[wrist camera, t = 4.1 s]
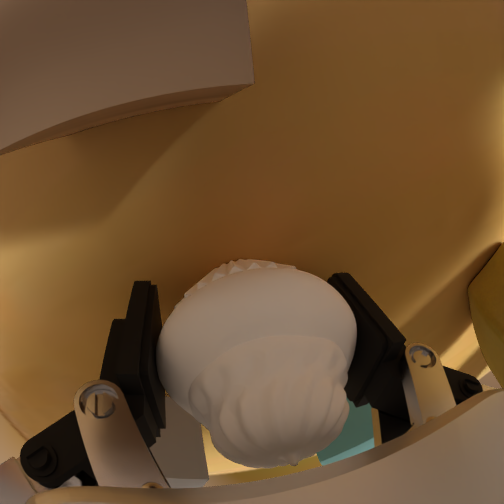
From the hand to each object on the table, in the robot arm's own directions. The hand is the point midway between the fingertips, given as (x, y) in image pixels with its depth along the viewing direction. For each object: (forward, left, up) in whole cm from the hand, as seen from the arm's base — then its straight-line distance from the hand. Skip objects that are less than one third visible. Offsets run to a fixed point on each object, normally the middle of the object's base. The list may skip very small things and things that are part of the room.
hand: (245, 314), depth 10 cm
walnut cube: (-9, -4, -1) cm, 10 cm away
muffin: (0, 0, -1) cm, 1 cm away
